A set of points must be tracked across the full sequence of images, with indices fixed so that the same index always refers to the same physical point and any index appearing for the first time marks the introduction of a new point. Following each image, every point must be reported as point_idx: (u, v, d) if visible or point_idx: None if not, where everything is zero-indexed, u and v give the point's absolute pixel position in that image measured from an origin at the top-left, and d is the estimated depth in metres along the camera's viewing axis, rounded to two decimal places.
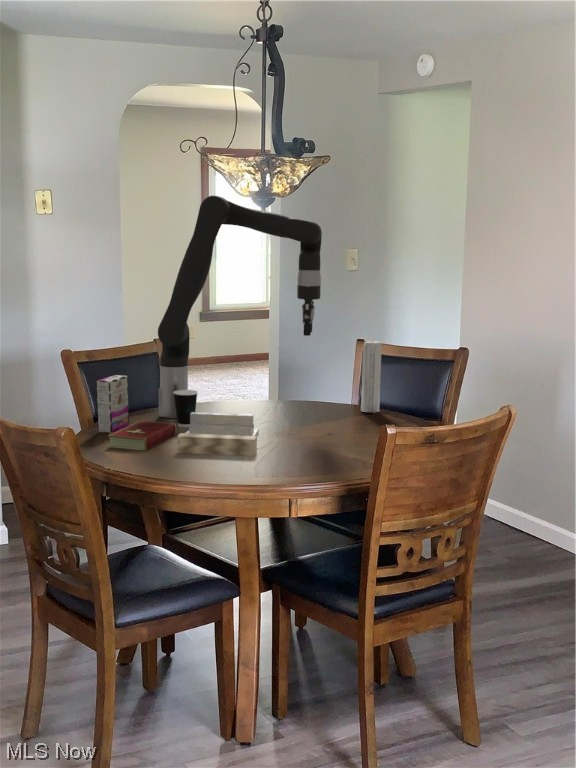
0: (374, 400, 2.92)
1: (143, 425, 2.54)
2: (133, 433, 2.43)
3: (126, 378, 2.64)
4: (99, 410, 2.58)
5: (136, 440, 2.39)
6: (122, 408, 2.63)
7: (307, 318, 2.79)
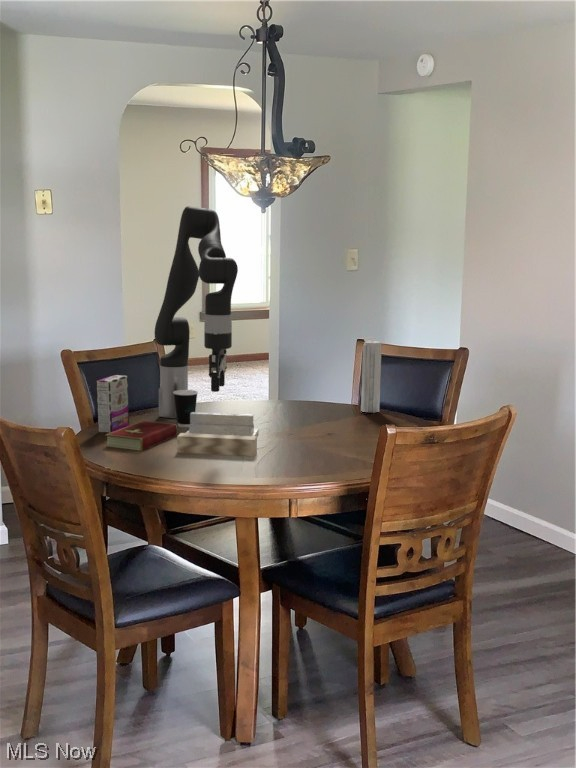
0: (374, 400, 2.92)
1: (144, 425, 2.54)
2: (131, 433, 2.43)
3: (126, 378, 2.64)
4: (99, 410, 2.58)
5: (132, 440, 2.39)
6: (122, 408, 2.63)
7: None
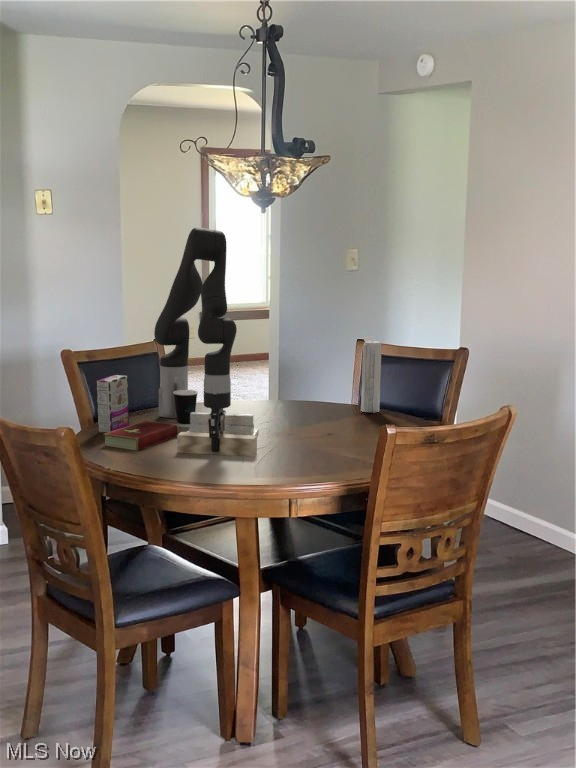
0: (374, 400, 2.92)
1: (145, 425, 2.54)
2: (129, 433, 2.44)
3: (126, 378, 2.64)
4: (99, 410, 2.58)
5: (129, 440, 2.39)
6: (122, 408, 2.63)
7: None
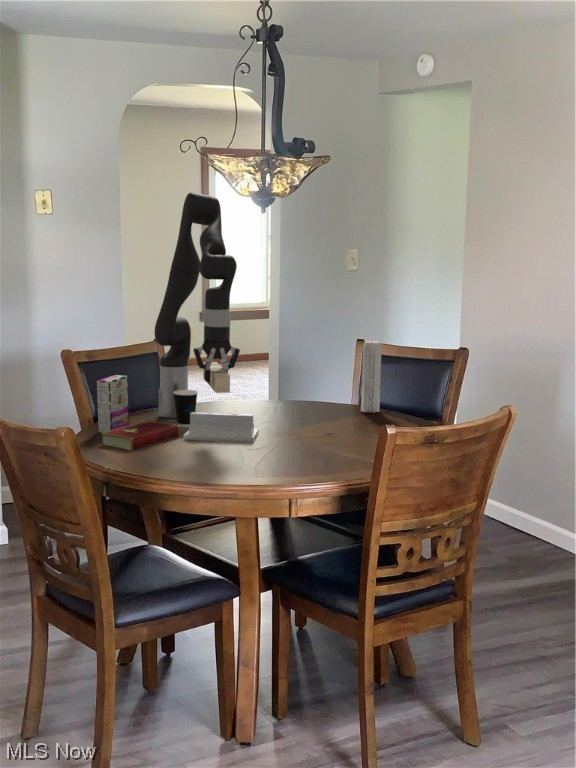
0: (374, 400, 2.92)
1: (146, 425, 2.54)
2: (126, 432, 2.44)
3: (126, 378, 2.64)
4: (99, 410, 2.58)
5: (124, 439, 2.39)
6: (122, 408, 2.63)
7: (223, 366, 2.48)
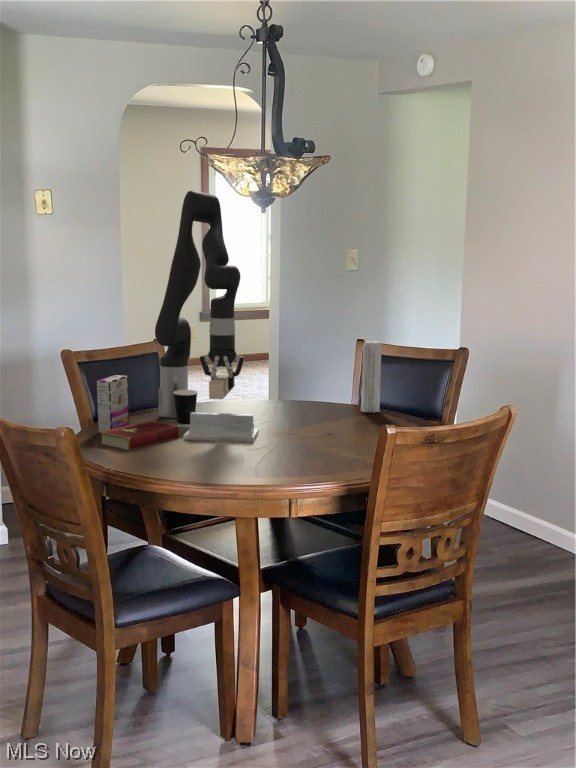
0: (374, 400, 2.92)
1: (147, 425, 2.54)
2: (125, 432, 2.45)
3: (126, 378, 2.64)
4: (99, 410, 2.58)
5: (122, 439, 2.40)
6: (122, 408, 2.63)
7: None
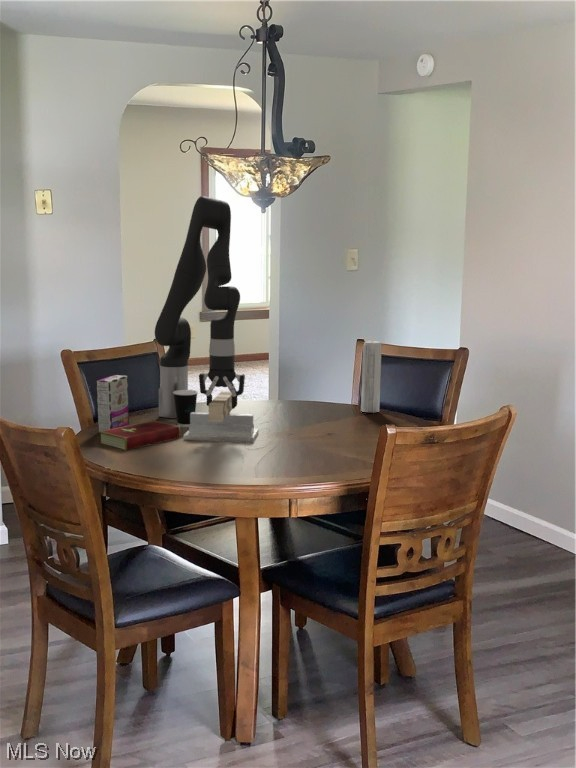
0: (374, 400, 2.92)
1: (147, 425, 2.54)
2: (124, 431, 2.45)
3: (126, 378, 2.64)
4: (99, 410, 2.58)
5: (119, 438, 2.40)
6: (122, 408, 2.63)
7: None
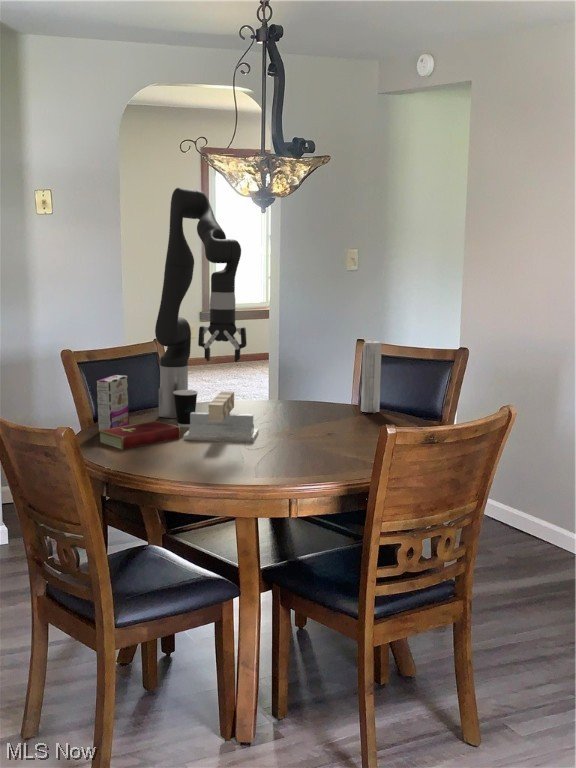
0: (374, 400, 2.92)
1: (148, 425, 2.54)
2: (122, 431, 2.45)
3: (126, 378, 2.64)
4: (99, 410, 2.58)
5: (116, 438, 2.41)
6: (122, 408, 2.63)
7: None
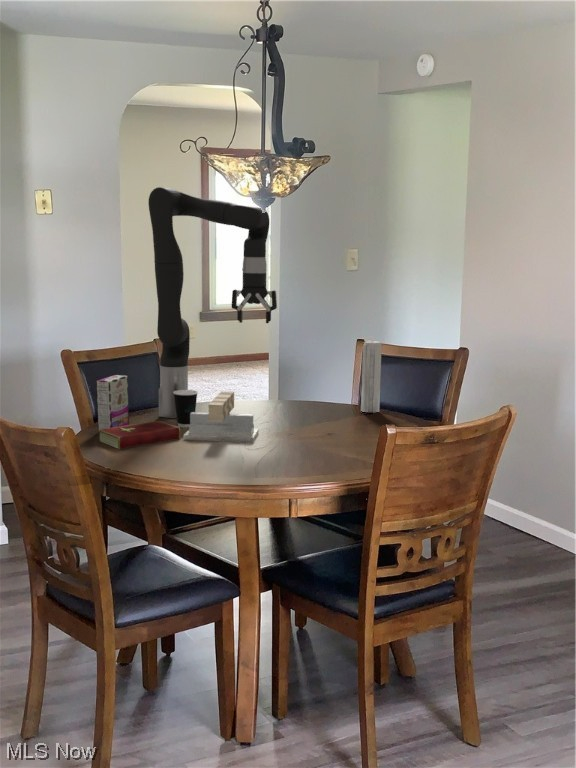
0: (374, 400, 2.92)
1: (149, 425, 2.54)
2: (121, 431, 2.46)
3: (126, 378, 2.64)
4: (99, 410, 2.58)
5: (114, 437, 2.41)
6: (122, 408, 2.63)
7: None
